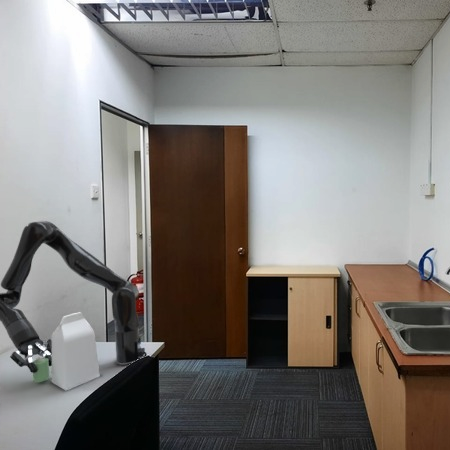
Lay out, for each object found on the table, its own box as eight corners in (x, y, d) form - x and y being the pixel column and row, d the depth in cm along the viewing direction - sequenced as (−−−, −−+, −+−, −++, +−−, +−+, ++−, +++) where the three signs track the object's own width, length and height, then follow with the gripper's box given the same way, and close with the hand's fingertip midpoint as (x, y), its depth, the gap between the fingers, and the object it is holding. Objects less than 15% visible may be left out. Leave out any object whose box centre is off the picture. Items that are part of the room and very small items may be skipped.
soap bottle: (52, 376, 131) (51, 355, 130) (39, 383, 126) (38, 361, 126) (43, 374, 132) (42, 354, 132) (30, 381, 128) (28, 359, 127)
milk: (65, 390, 123) (61, 321, 121) (51, 382, 129) (47, 316, 127) (99, 376, 133) (96, 312, 131) (85, 368, 139) (81, 307, 138)
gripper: (4, 334, 124) (27, 371, 120) (45, 321, 137) (67, 354, 134) (-4, 346, 126) (18, 383, 123) (38, 332, 140) (59, 365, 136)
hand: (44, 368), depth 128 cm, fingers closed on soap bottle, 5 cm apart
